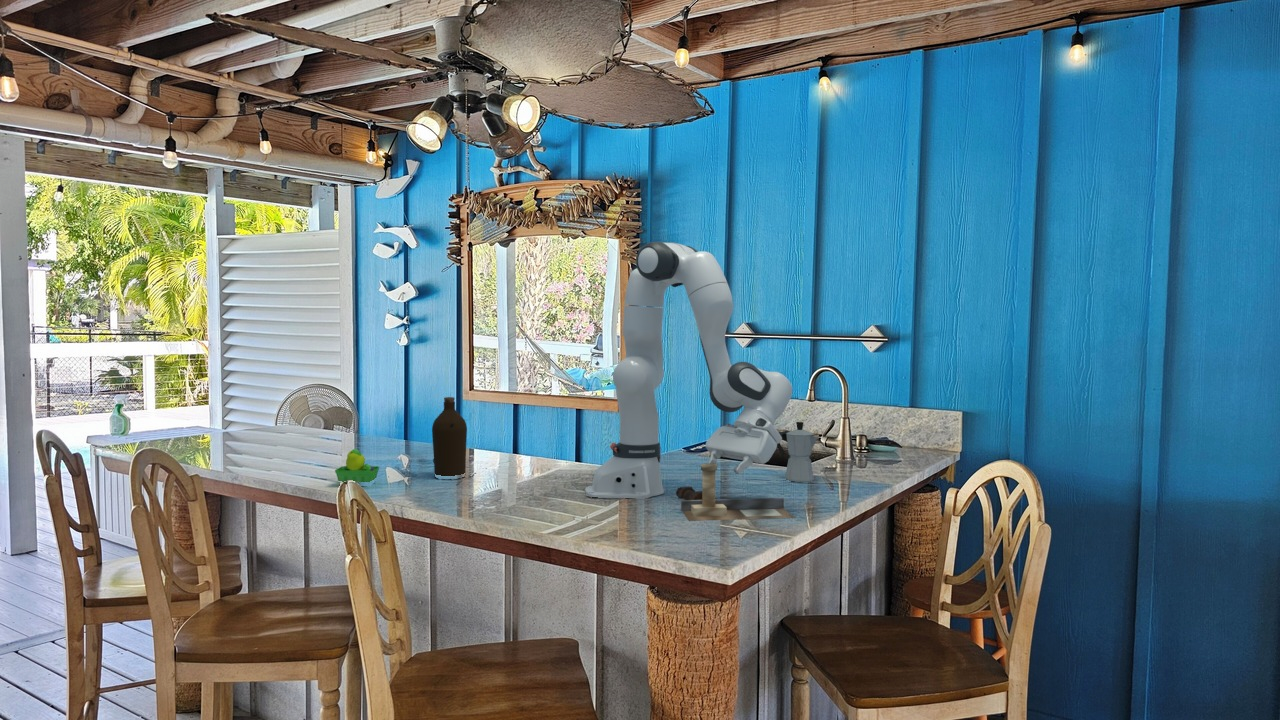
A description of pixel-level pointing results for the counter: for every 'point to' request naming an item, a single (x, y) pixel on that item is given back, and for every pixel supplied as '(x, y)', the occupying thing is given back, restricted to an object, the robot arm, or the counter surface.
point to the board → (741, 509)
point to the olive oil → (449, 441)
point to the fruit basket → (356, 469)
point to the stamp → (708, 494)
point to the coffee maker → (798, 453)
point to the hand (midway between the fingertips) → (723, 469)
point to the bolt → (689, 493)
